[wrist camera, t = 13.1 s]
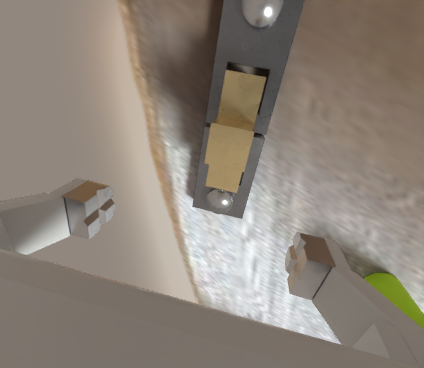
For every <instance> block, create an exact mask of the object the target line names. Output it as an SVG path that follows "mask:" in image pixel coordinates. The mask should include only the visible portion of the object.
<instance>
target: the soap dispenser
mask: <svg viewBox="0 0 424 368" xmlns="http://www.w3.org/2000/svg"><path fill="white" fill-rule="evenodd" d="M364 279H365V280H366V281H367V282H368V283H369V284H370V285H372V286H373V287H374V288H375V289H376V290H378V291H379V292H380V293H381V294H382V295H384V296H385V297H386V298H387V299H388V300H389V301H391V302H392V303H393V304H394V305H395V306H397V307H398V308H399V309H400V310H401V311H402V312H404V313H405V314H406V315H407V316H408V317H410V318H411V319H412V320H413V321H414V322H416V323H417V324H418V325H419V326H420V327H421V328H423V329H424V314H423V313H422V311H421V310H420V309H419V307H418V306H417V304H416V303H415V302H414V300H413V299H412V298H411V296H410V295H409V294H408V292H407V291H406V290H405V288H404V287H403V285H402V284H401V283H400V281H399V280H398V279H397V278H396V277H395V276H393V275H391V274H388V273H374V274H371V275H368V276H366V277H365V278H364Z"/></svg>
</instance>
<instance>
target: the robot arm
mask: <svg viewBox="0 0 424 368" xmlns="http://www.w3.org/2000/svg"><path fill="white" fill-rule="evenodd" d="M113 196H114V190H113V188H112V187H111V186H108V185H105V184H101V183H97V182H93V181H89V180H85V179H82V178H77V179H75V180H73V181H71V182H69V183H68V184H66V185H64V186H62V187H60V188H58V189H56V190H54V191H53V192H51V193H49V194H47V193H42V194H37V195H31V196H26V197H20V198H15V199H9V200H4V201H0V368H424V329H423V328H421V327H420V326H419V325H418V324H417V323H416V322H414V321H413V320H412V319H411V318H410V317H408V316H407V315H406V314H405V313H404V312H402V311H401V310H400V309H399V308H398V307H397V306H395V305H394V304H393V303H392V302H391V301H389V300H388V299H387V298H386V297H385V296H384V295H382V294H381V293H380V292H379V291H378V290H376V289H375V288H374V287H373V286H372V285H370V284H369V283H368V282H367V281H366V280H365V279H363V278H362V277H361V276H360V275H359V274H357V273H355V272H352V270H351V268H350V266H349V264H348V262H347V260H346V258H345V256H344V255H343V253H342V251H341V249H340V247H339V245H338V243H337V242H336V241H335V240H330V239H326V238H320V237H316V236H311V235H307V234H303V233H298V232H297V233H296V234H295V235H294V237H293V239H292V240H293V246H291V247H289V248H288V251H287V253H286V258H285V268H286V271H287V272H288V273H289V274H290V275H289V277H288V279H287V280H288V286H289V292H290V294H293V295H296V296H299V297H303V298H306V299H309V300H312V302H313V304H314V305H315V306H316V308H317V309H318V311H319V312H320V314H321V315H322V316H323V318H324V319H325V321H326V322H327V324H328V325H329V326H330V328H331V329H332V331H333V332H334V334H335V335H336V336H337V338H338V339H339V341H340V342H341V344H342V345H339V344H336V343H332V342H329V341H325V340H322V339H318V338H315V337H311V336H308V335H304V334H301V333H297V332H294V331H290V330H287V329H283V328H280V327H276V326H273V325H269V324H266V323H262V322H259V321H255V320H252V319H248V318H245V317H241V316H238V315H235V314H231V313H228V312H224V311H221V310H217V309H214V308H210V307H207V306H203V305H200V304H196V303H192V302H189V301H186V300H182V299H179V298H175V297H172V296H168V295H165V294H161V293H158V292H154V291H150V290H147V289H144V288H140V287H137V286H133V285H129V284H126V283H123V282H119V281H116V280H112V279H108V278H105V277H102V276H98V275H94V274H91V273H87V272H84V271H81V270H77V269H74V268H70V267H66V266H63V265H60V264H56V263H53V262H49V261H45V260H42V259H39V258H35V257H31V256H28V255H27V254H30V253H32V252H34V251H36V250H39V249H41V248H43V247H46V246H48V245H50V244H52V243H55V242H57V241H59V240H62V239H64V238H66V237H69V236H70V235H74V236H78V237H82V238H86V239H90V238H91V237H92V236H93V235H95V234H96V232H98V231H99V230H100V225H102V224H105V223H107V222H108V221H109V220H110V219H111V217H112V215H113V213H114V209H115V207H114V206H115V205H114V202H113V201H112V199H111V198H112V197H113Z"/></svg>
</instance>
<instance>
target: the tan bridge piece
mask: <svg viewBox="0 0 424 368" xmlns="http://www.w3.org/2000/svg"><path fill="white" fill-rule="evenodd" d="M265 81H266V77H262V76H257V75H252V74H246V73H241V72H236V71H230V70H226V72H225V78H224V84H223V89H222V95H221V101H220V106H219V112H218V117H217V118H216V119H215V120H213V121H212V122H211V126H210V132H209V138H208V144H207V150H206V156H205V162H204V163H205V164H209V169H208V175H207V180H206V186H208V187H213V188H217V189H221V190H225V191H230V192H234V193H237V191H238V187H239V183H240V179H241V175H242V172H244V171H245V167H246V163H247V159H248V155H249V151H250V148H251V144H252V140H253V136H254V132H255V127H254V124H255V120H256V116H257V112H258V108H259V104H260V101H261V97H262V93H263V89H264V85H265Z"/></svg>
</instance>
